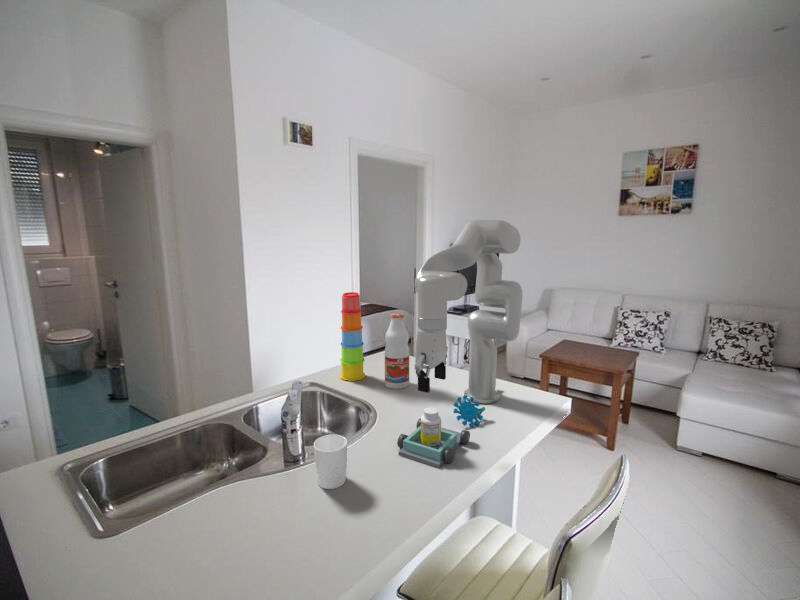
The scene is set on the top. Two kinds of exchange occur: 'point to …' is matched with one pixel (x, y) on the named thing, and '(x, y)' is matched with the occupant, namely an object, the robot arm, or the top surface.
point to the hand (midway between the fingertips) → (432, 384)
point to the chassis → (428, 454)
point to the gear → (468, 410)
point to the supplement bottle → (431, 428)
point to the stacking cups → (351, 338)
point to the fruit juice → (396, 353)
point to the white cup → (331, 460)
